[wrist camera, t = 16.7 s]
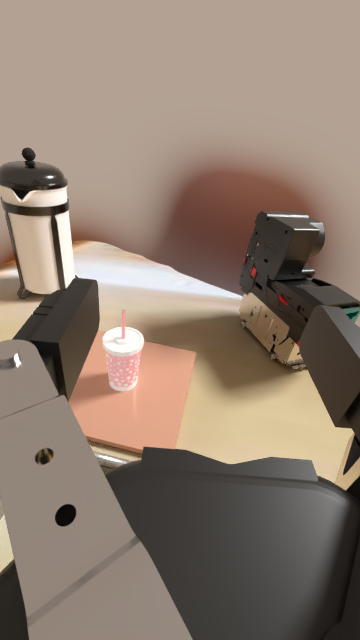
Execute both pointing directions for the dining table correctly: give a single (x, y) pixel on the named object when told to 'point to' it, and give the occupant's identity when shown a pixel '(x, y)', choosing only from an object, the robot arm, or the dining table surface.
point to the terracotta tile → (134, 398)
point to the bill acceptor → (285, 283)
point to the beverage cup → (123, 356)
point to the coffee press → (38, 224)
